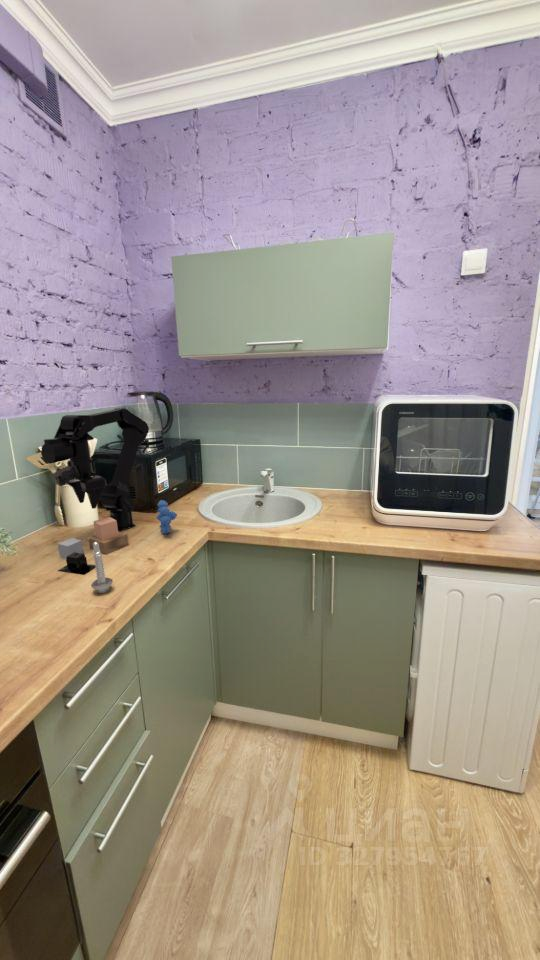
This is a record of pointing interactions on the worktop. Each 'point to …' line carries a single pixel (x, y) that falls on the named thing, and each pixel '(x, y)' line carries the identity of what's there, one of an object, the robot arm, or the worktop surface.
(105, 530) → the terracotta cube
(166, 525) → the grapes
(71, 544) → the slate cube
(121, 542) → the walnut block
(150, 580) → the worktop surface
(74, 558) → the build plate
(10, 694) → the worktop surface
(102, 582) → the screw
